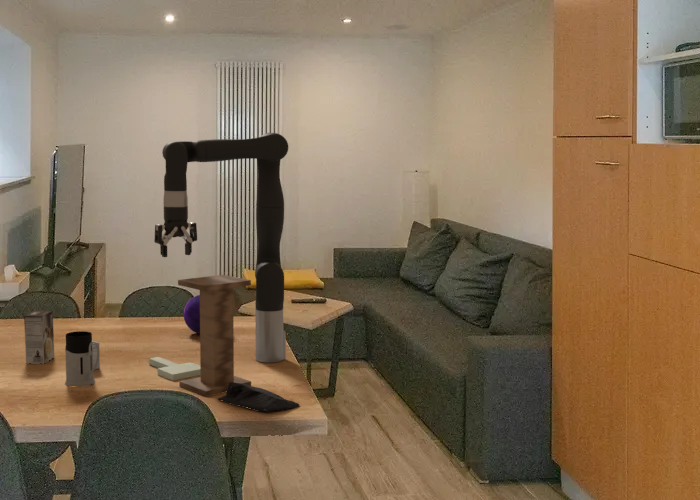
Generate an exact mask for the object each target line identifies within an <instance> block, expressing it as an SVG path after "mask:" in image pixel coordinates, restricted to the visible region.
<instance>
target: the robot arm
mask: <svg viewBox="0 0 700 500" xmlns="http://www.w3.org/2000/svg"><path fill="white" fill-rule="evenodd" d="M161 152H162V157H163V159H164V161H165V174H164V175H163V176H164V178H163V190H164V191H163V203H162V204H163V220H164V221H163V222H164V223H163V224H159V223H158V224H155V225H154V240H153V241H154V243H155V244H158V245H160V246H159V247H160V248H159V249H160V255H161V257H162V258H167V257H168V245H167V244H168V243H169V241H171V240H172V239H173V238H177V237H179V238H182V239H183V240H184V254H185V255H186V256H191V254H192V251H193V248H192V247H193V246H192V245H193V242H197V241H198V229H197V222H194V221H192V222H191V221H190V222H188V219H189V209H188V208H189V206H188V204H189V202H188V201H189V199H188V198H189V196H188V185H187V183H188V181H187V170H188V163H215V162H223V161H232V160H233V161H234V160H243V159H244V160H246V159H249V160H250V159H256V164H257V183H256V184H257V185H256V202H255V203H256V205H255V223H256V236H257V254H256V255H257V256H256V263H255V264H256V265H255V271H254V276H255V302H254V303H255V361H256V362H258V363H259V362H260V363H271V364H272V363H278V362H282V361H283V360H287V359H286V358H287V356H286V354H287V351H286V349H287V347H286V346H287V345H286V342H287V341H286V340H287V337H286V336H287V335H286V334H287V333H286V331H285V330H284V302H285V272H284V270H283V268H282V263H281V241H282V235H283V230H284V221H285V199H284V197H285V196H284V192H283V188H282V183H281V179H280V178H281V175H280V174H281V173H280V170H281V168H280V167H281V160H282V159H284V158H285V157H286V156H287V154H288V152H289V143H288V140H287V139H286V138H285V137H284V135H282V134H280V133H278V132H266V133H263V134H262V135H260V136H259V137H253V138H245V139H244V138H243V139H233V138H231V139H228V138H226V139H225V138H218V139H215V138H212V139H200V140H194V141H191V140H190V141H189V140H188V141H187V140H186V141H185V140H184V141H180V140H179V141H170V142H168V143H166V144H165V145H164V146H163V148H162V151H161ZM188 229H189V232H188V231H187V230H188ZM163 231H164V233H163Z"/></svg>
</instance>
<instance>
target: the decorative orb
mask: <svg viewBox="0 0 700 500" xmlns="http://www.w3.org/2000/svg"><path fill="white" fill-rule="evenodd" d="M183 318H184V323H185V325H186V326H187V327H188V329H189V330H191V331H192V332H194V333H196V334H199V335H200V294H198V295H195V296H193V297H191V298H190V299H189V300H188V301H187V303H186V304H185V307H184V309H183Z"/></svg>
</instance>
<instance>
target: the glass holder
mask: <svg viewBox="0 0 700 500" xmlns="http://www.w3.org/2000/svg"><path fill="white" fill-rule="evenodd" d="M92 341H93V333H92V332H90V331H85V330H84V331H83V330H81V331H80V330H79V331H77V330H76V331H72V332H71V331H70V332H68V333H66V334H65V349H64V350H65V375H66V376H65V379H66V380H65V383H64V385H65V386H66V385H68V386H67V387H70V386H83V387H89V386H92V385H94V384H95V383H96V380H95V378H94V377H95V376H94V371H95V370H96V369H95V368H96V367H97V365H98V361H99V352H100V345H99V346H98V344H97V343H96V342H97V341H96V342H92ZM93 343H94V344H95V345H96V347H97V360H96V363H95V366H94V368H93V349H92V344H93ZM91 384H92V385H91ZM88 385H89V386H88Z"/></svg>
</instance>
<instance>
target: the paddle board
mask: <svg viewBox="0 0 700 500" xmlns="http://www.w3.org/2000/svg"><path fill="white" fill-rule="evenodd" d="M148 364H149V366H152V367H154V368H157V375H158V376H160V377H162V378H165V379H168V380H170V381H177V380H182V379H187V378H192V377H193V378H194V377H198V376H201V366H200V365H199V364H196V363H193V362H191V361H189V362H185V363H180V364H179V363H176V362H174V361H171V360H169V359H166V358H164V357H160V356H154V357H149V359H148Z"/></svg>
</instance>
